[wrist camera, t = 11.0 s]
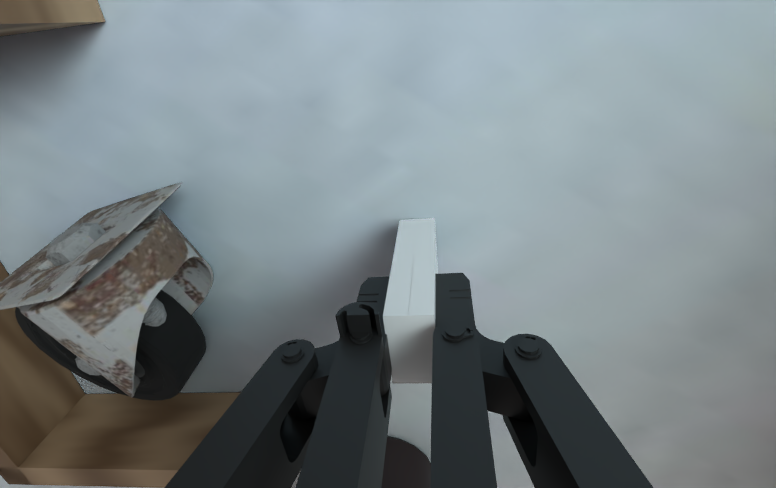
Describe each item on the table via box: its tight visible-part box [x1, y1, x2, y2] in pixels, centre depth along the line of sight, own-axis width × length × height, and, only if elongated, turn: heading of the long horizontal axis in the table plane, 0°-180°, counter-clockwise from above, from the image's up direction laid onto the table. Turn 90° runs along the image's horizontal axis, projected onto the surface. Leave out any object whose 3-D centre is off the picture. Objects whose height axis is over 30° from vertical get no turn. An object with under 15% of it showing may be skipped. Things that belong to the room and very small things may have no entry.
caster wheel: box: [0, 182, 213, 401], centre depth 20 cm, size 7×11×10 cm
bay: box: [0, 0, 241, 488], centre depth 19 cm, size 12×23×5 cm, turn 7°
